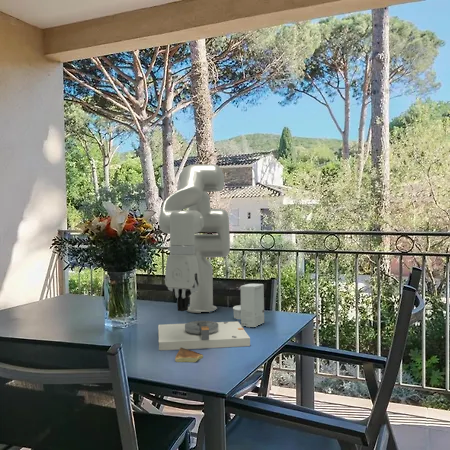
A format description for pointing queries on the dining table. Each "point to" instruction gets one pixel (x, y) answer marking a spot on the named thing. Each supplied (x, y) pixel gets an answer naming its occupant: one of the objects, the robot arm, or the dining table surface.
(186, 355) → the shard
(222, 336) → the board
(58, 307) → the dining table surface
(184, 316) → the dining table surface
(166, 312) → the dining table surface
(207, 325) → the dial
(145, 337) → the dining table surface
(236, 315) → the ramekin
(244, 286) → the skincare box
